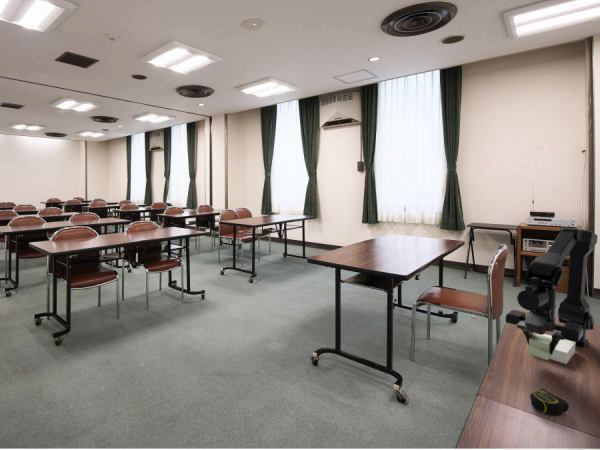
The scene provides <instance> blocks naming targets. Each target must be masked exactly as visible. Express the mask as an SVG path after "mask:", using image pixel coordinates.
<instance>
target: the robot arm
mask: <svg viewBox="0 0 600 450" xmlns="http://www.w3.org/2000/svg"><path fill="white" fill-rule="evenodd" d="M597 243H598V234H596V233H594V230H589V229H588V230H585V229H579V228H576V227H575V228H574V227H561V228H560V229H559V232H558V235H557V236H556V238H555V239H554V240H553V242H552V243H551V244H550V246H549V247H548V250H547V251H546V252H545V253H544V254H541V255H538V256H536V258H535V259H534V260H533V261H531V263H529V265H528V269H527V271H526V274H525V277H524V280H523V284H526V286H525V287H524V290H521V291H520V292H519V293H518V294H517V297H516V299H517V303H518V305H519V306H520V307H521V308H523V309H524V310H526V311H529V312H528V314H526V313H525V312H523V311H519V310H515V309H511V311H509V312H507V314H505V319H504V320H505V323H507V324H511V325H515V326H516V327H517V329H520V330H521V331H522V332H523V335H524V337H525V339H526V342H527V344H528V346H529V338H531V337H532V336H533V335H534V334H540V335H543V334H546V332H547V333H548V332H551V333H553V332H554V333H553V334H552V335H551V336H552V342H551V347H550V354H551V355H552V353H553V352H554V350H555V348H556V346H557V344H558V343H559V341H560V340H569V341H573V342H575V346H577V347H582V348H585V347H586V345H587V344H588V343H589V339H586V338H587V337H586V336H587V331H590V330H592V331H593V330H594V327H595V319H594V317H593V315H592V313H591V312H590V311H591V306H590V304H589V302H587V300H586V298H585V293H586V279H587V278H586V277H587V268H588V266H587V265H588V256H589V255H590V254H591V253H592V252H593V251H594V250H595V248H596V247H595V246H596V244H597ZM568 255H569V259H568V271H567V272H568V274H567V275H568V276H567V287H566V297H565V298H564V299H563V300H562V301H560V303H559V307H558V310H557V315H558V316H557V317H558V323H560V324H558V323H556V322H555V321H556V317H555V316H556V315H555V314H556V308H557V304H556V300H557V299H556V298H557V287H559V286H560V283H561V282H562V279H563V277H564V274H565V272H564V269H563V263H564V262H565V260H566V258H567V257H568ZM526 315H527V316H526ZM561 324H564V325H561Z"/></svg>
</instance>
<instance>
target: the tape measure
mask: <svg viewBox="0 0 600 450" xmlns="http://www.w3.org/2000/svg"><path fill="white" fill-rule="evenodd" d="M529 395H530V396H529V399H530V404H531V406H532V408H534V409H535V410H536V411H538V412H539V413H541V414H544V415H545V416H546V415H547V416H550V417H559V416H561V415H563V413H566V412H568V411H569V408H570V406H569V403H568V402H567V401H566V400H564V399H562V398H561V397H559V396H557V395H555V394H553V393H552V392H550V391H548V390H546V389H545V388H539V389H535V390H533V392H531V393H530V394H529Z"/></svg>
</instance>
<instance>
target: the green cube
mask: <svg viewBox="0 0 600 450" xmlns="http://www.w3.org/2000/svg"><path fill="white" fill-rule="evenodd" d="M551 342H552V338H549V337H545V336H542V335H538V334H537V333H533V336H532V337H531V338H529V345H528V352H527V353H528V355H530V356H533V357H536V358H540V359H541V360H542V359H543V360H546V361H549V360H550V359H549V358H550V357H551V356H552V355H553V353H552V355H551V354H550V347H551Z"/></svg>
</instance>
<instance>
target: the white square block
mask: <svg viewBox="0 0 600 450" xmlns="http://www.w3.org/2000/svg"><path fill="white" fill-rule="evenodd" d="M538 335H540V334H538ZM542 336H545V337H549V338H552V335H550V334H546V333H545V334H543V335H542ZM575 353H576V345H575V342H573V341H569V340H560V341H559V343H558V344H557V346H556V348H555V350H554V352H553V355H552V356H551V357H550V358H549V359H548V360H552V361H555V362H558V363H562V364H565V365H567V364H568V362H569V361H570V360H571V358H572V357H573V356H574V354H575Z"/></svg>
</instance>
